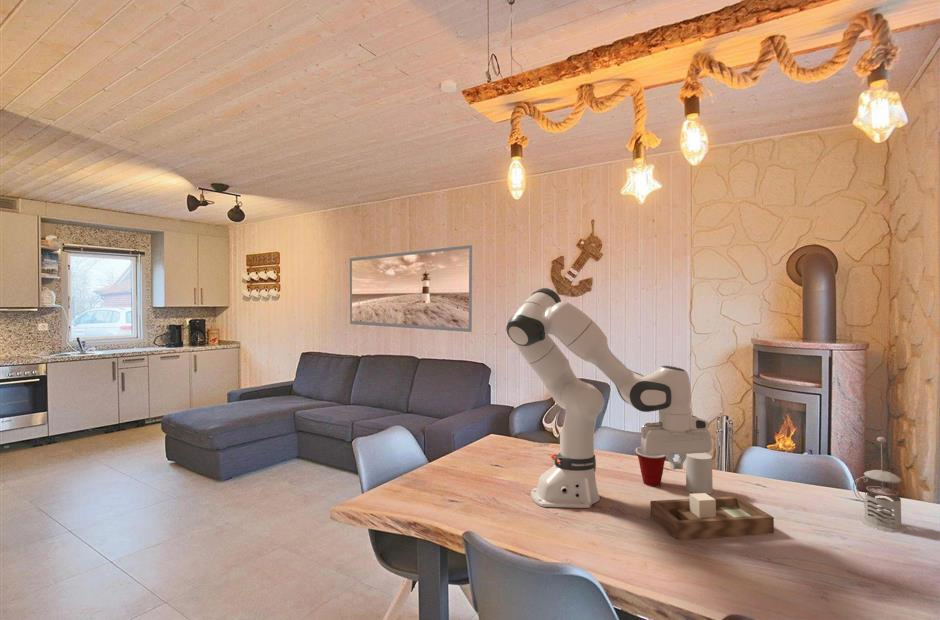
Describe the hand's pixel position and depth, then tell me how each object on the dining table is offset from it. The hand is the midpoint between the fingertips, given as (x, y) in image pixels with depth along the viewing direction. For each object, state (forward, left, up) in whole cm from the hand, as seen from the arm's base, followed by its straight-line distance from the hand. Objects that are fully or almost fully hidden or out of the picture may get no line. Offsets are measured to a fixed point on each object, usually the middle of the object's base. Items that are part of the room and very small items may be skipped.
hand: (676, 468), depth 137 cm
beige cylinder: (+20, +22, -16) cm, 34 cm away
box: (+8, -2, -16) cm, 18 cm away
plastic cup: (+7, +30, -16) cm, 35 cm away
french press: (+56, -8, -16) cm, 59 cm away
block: (+8, 0, -14) cm, 16 cm away
